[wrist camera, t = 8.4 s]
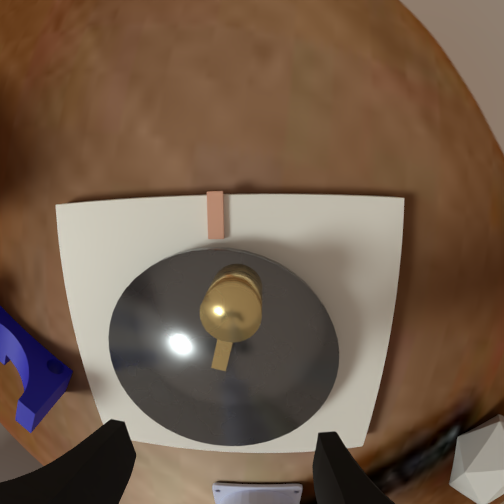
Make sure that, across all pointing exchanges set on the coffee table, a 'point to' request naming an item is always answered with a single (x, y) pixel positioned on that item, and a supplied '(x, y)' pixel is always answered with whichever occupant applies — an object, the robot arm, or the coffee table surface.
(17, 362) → the cable clip
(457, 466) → the die
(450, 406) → the coffee table surface
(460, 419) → the coffee table surface
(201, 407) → the handwheel
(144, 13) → the coffee table surface
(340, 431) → the wheel base
